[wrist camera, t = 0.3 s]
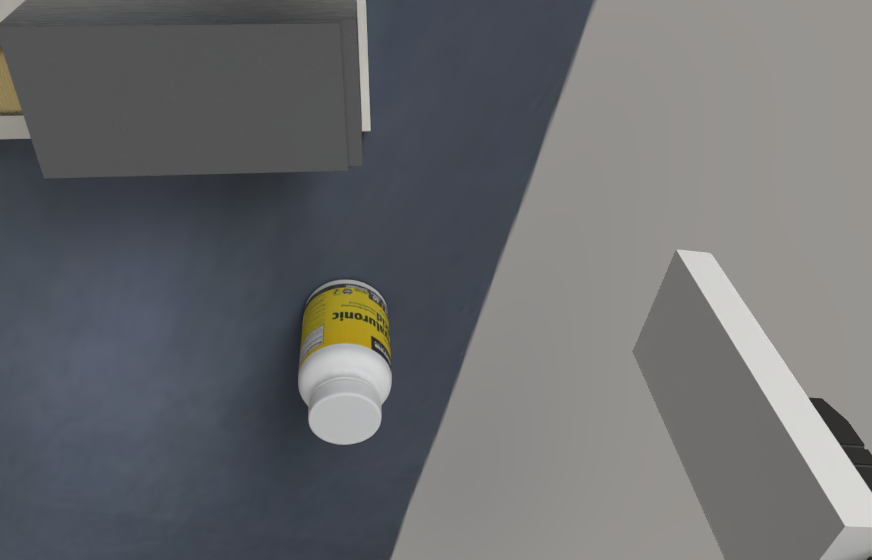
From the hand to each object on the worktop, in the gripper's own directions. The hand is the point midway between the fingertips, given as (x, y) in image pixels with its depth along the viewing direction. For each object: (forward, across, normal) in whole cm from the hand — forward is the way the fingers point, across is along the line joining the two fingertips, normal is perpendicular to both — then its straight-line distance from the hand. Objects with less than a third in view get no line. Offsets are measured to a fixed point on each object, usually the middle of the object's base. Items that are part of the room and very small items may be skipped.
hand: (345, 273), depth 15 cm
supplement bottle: (+27, +2, -22) cm, 35 cm away
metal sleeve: (+26, -5, -4) cm, 27 cm away
